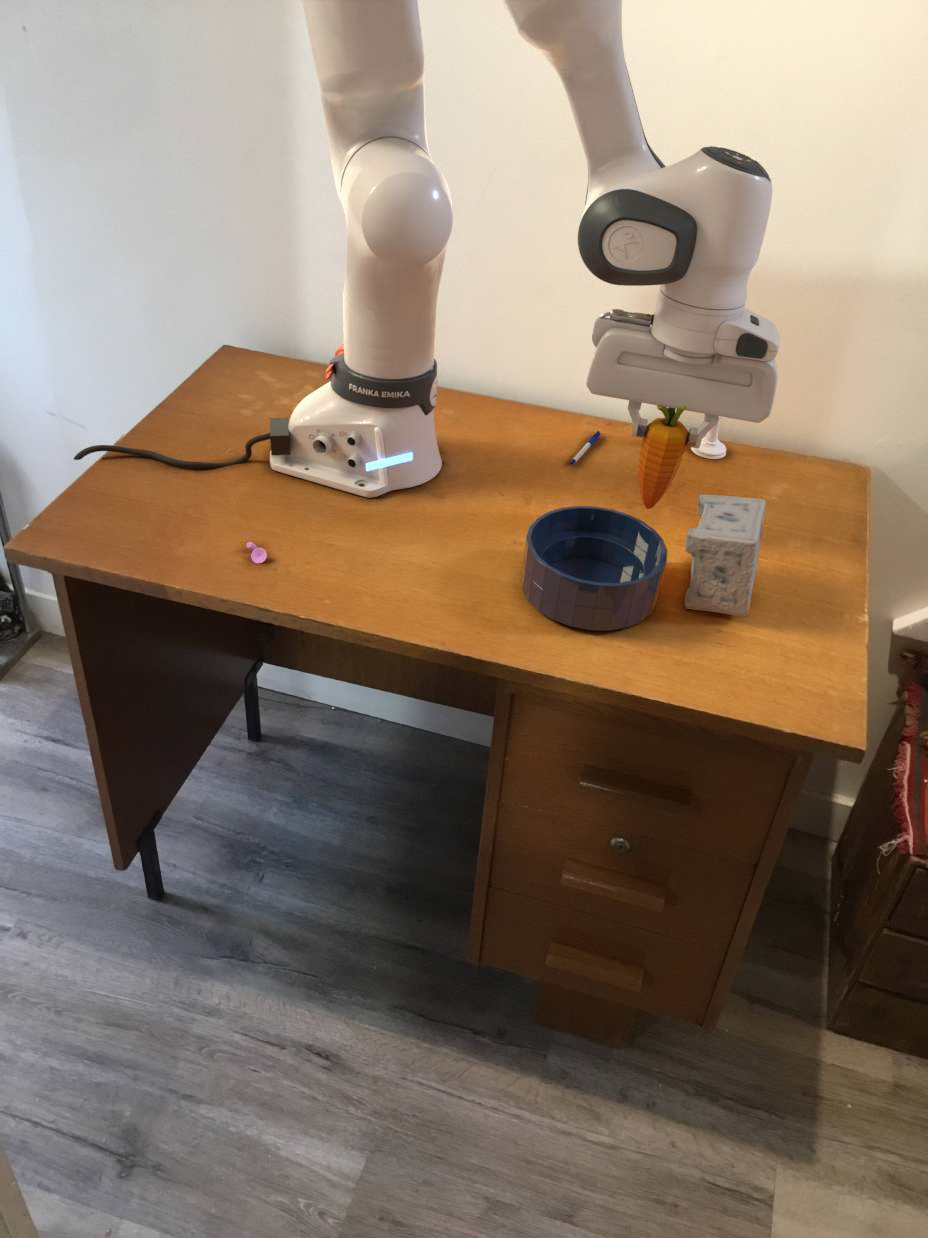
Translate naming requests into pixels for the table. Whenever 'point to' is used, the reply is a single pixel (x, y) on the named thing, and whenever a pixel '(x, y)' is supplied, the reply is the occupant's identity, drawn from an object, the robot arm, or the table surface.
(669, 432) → the carrot
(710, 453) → the chess piece
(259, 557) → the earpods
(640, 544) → the blue pet bowl
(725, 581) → the incense holder
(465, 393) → the table surface
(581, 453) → the ballpoint pen
